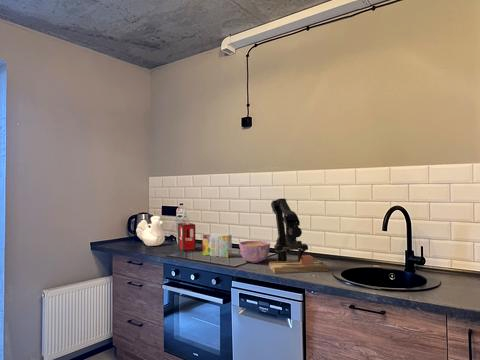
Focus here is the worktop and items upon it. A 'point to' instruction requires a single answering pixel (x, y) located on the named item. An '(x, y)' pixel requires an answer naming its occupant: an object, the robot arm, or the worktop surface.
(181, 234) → the cleaning product box
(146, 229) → the decorative rooster
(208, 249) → the snack box
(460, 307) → the worktop surface
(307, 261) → the block
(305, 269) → the box
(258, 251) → the bowl of food
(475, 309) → the worktop surface
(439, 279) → the worktop surface
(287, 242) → the robot arm
